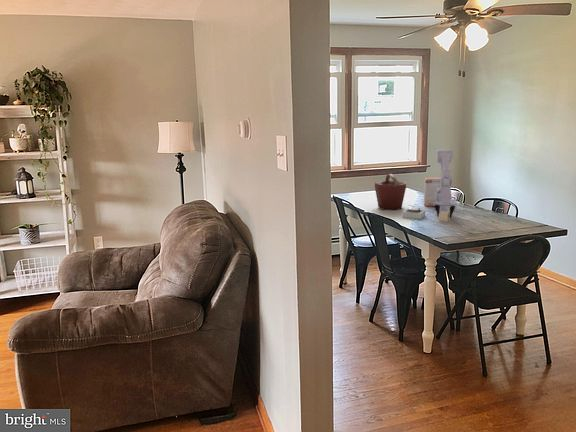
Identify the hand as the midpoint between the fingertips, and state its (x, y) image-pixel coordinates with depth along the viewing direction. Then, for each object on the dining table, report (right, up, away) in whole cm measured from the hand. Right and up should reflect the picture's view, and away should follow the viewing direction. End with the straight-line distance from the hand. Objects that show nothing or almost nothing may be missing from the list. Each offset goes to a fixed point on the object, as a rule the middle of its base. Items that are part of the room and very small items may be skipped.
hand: (444, 217), depth 309 cm
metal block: (-17, +1, +11) cm, 20 cm away
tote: (-17, 0, +11) cm, 20 cm away
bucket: (-27, +7, +42) cm, 50 cm away
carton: (0, -2, 0) cm, 2 cm away
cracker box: (+7, +8, +46) cm, 47 cm away
